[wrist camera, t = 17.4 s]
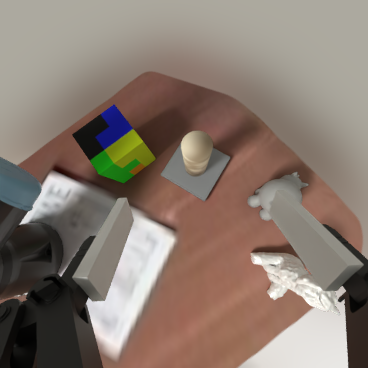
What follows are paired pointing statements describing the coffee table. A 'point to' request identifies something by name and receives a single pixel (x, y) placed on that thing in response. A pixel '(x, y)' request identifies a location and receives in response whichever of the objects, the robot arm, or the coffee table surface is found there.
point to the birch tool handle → (196, 152)
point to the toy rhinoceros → (268, 191)
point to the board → (190, 183)
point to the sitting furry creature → (294, 280)
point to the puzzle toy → (113, 146)
